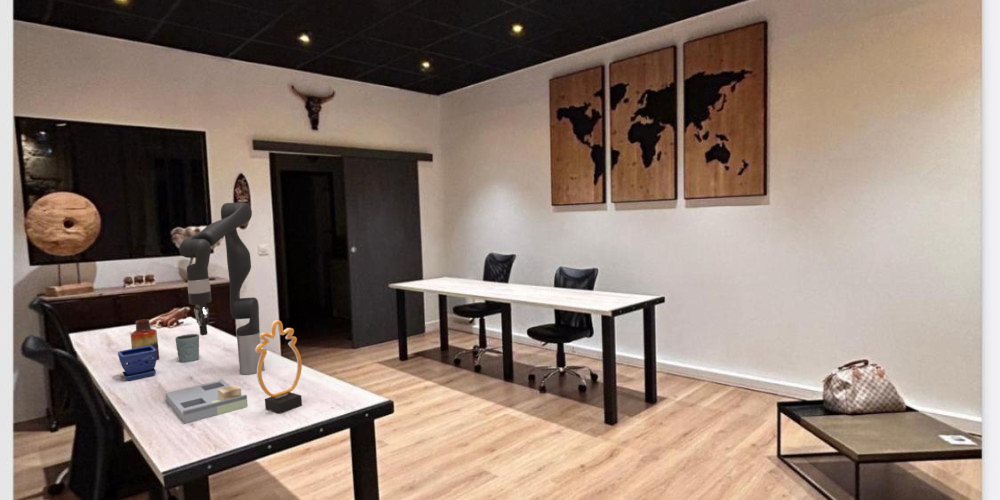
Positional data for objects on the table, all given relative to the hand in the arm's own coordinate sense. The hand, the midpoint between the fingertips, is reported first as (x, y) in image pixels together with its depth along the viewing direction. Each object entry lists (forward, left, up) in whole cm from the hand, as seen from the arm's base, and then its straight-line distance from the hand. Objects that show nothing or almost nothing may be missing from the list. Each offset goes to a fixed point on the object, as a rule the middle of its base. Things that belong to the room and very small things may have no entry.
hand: (203, 334), depth 202 cm
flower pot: (+15, -53, -24) cm, 61 cm away
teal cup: (-6, -65, -24) cm, 69 cm away
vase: (+9, -82, -24) cm, 86 cm away
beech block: (-2, +20, -21) cm, 29 cm away
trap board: (+3, +10, -24) cm, 26 cm away
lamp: (-16, +37, -24) cm, 47 cm away
